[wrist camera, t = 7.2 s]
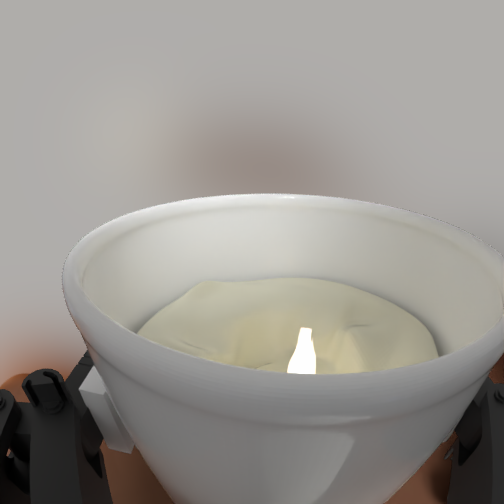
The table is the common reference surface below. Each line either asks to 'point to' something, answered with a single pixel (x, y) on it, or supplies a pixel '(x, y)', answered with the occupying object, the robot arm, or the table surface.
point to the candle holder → (286, 341)
